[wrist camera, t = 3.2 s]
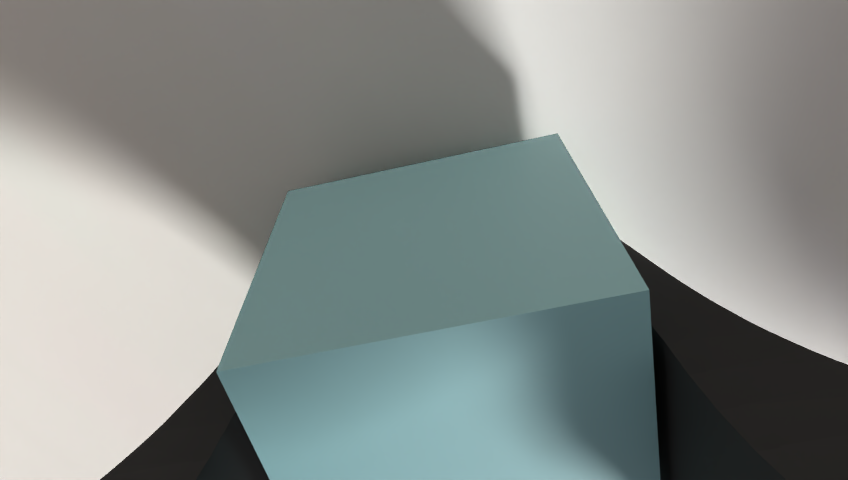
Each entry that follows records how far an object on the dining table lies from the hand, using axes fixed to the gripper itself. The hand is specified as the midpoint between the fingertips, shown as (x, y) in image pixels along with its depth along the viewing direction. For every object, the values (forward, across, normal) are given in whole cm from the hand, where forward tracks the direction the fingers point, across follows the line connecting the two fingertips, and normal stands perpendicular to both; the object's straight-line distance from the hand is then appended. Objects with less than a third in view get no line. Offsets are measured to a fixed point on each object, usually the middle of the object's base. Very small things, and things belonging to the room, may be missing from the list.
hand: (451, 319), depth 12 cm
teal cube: (+1, 0, 0) cm, 1 cm away
